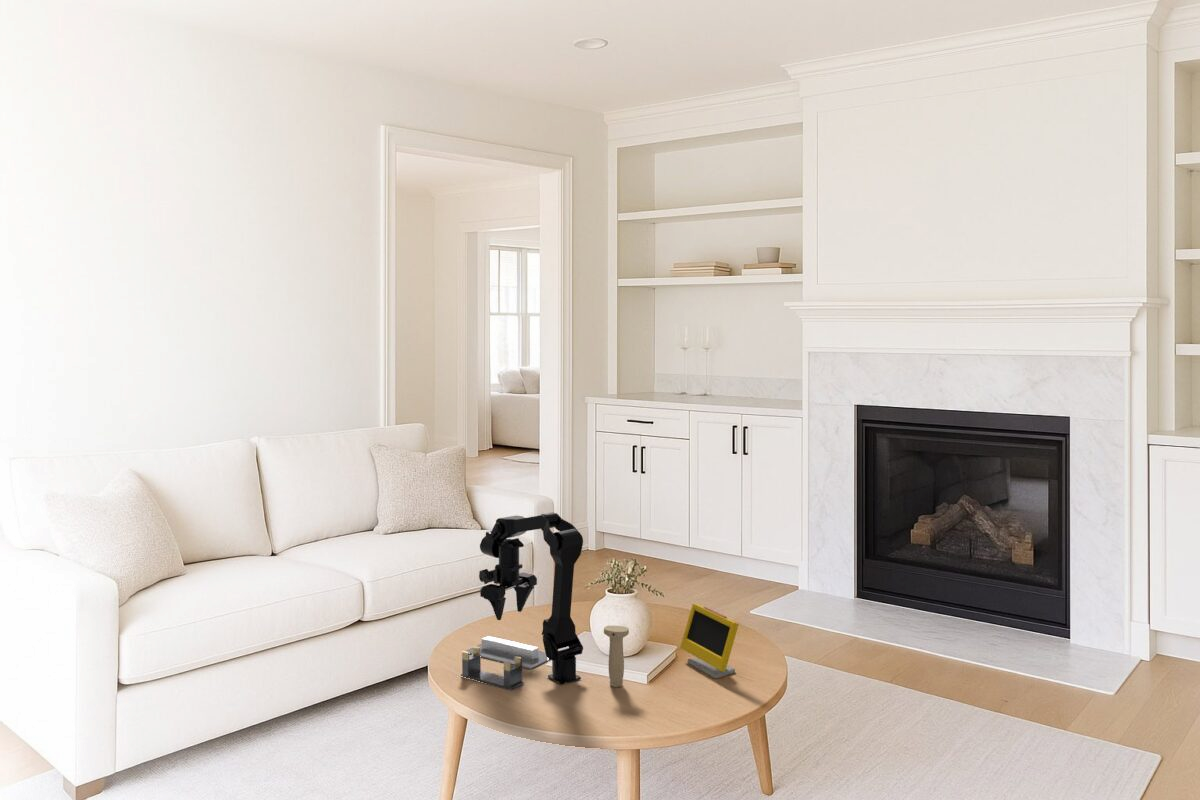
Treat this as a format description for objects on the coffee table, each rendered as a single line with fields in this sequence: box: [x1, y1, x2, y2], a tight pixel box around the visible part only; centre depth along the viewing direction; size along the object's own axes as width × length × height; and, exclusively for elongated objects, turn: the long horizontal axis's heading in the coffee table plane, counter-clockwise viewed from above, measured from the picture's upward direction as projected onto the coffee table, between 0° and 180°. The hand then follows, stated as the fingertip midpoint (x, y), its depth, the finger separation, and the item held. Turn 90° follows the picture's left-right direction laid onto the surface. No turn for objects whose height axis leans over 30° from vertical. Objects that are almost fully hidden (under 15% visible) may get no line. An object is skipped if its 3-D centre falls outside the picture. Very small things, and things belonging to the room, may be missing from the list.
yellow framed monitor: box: [680, 602, 739, 680], centre depth 255 cm, size 20×8×16 cm, turn 27°
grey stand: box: [460, 646, 525, 692], centre depth 247 cm, size 17×5×7 cm, turn 57°
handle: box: [603, 624, 630, 688], centre depth 243 cm, size 5×6×15 cm
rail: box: [481, 635, 540, 661], centre depth 267 cm, size 18×3×3 cm, turn 57°
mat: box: [464, 643, 548, 671], centre depth 267 cm, size 24×12×1 cm, turn 57°
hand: (509, 615), depth 266 cm, fingers open, 9 cm apart
